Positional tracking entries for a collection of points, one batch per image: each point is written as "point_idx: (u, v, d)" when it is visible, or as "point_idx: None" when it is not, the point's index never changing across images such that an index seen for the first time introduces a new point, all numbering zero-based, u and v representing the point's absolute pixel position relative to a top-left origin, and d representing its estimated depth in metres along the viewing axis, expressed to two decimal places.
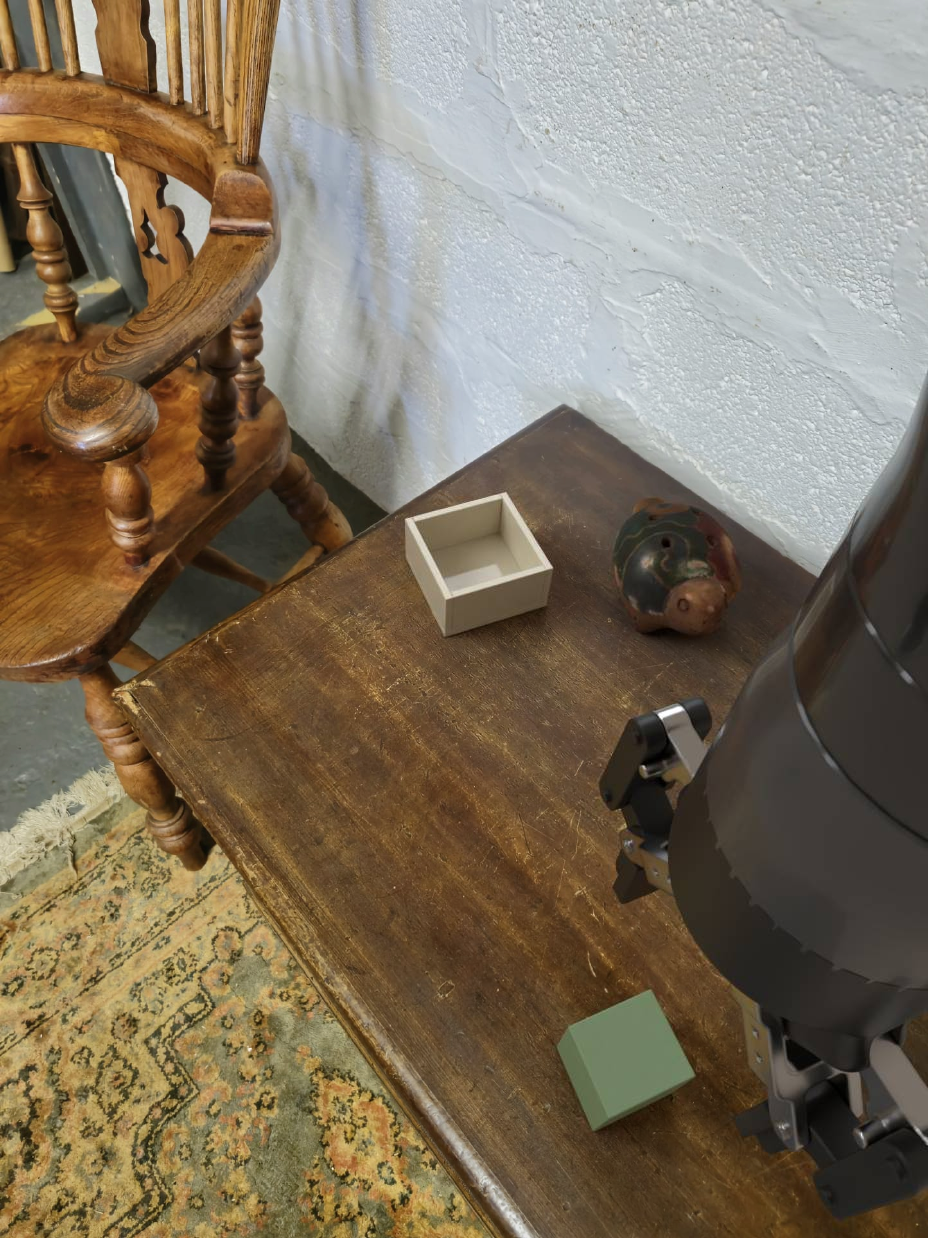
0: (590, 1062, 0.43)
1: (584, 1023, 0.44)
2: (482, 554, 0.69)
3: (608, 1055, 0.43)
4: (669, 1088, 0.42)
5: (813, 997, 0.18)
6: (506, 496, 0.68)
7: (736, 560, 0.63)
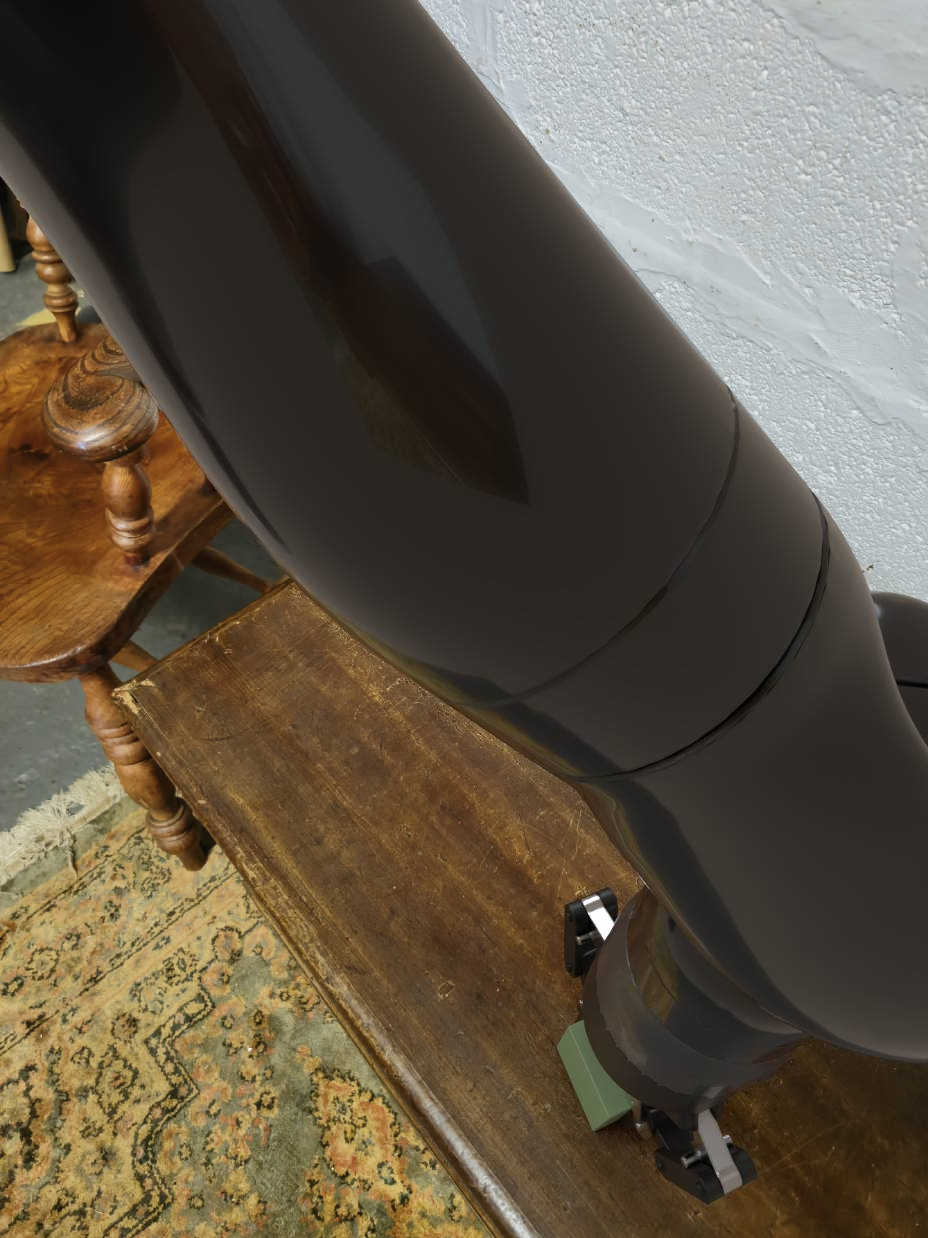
0: (590, 1062, 0.43)
1: None
2: None
3: None
4: None
5: (653, 1095, 0.33)
6: None
7: None
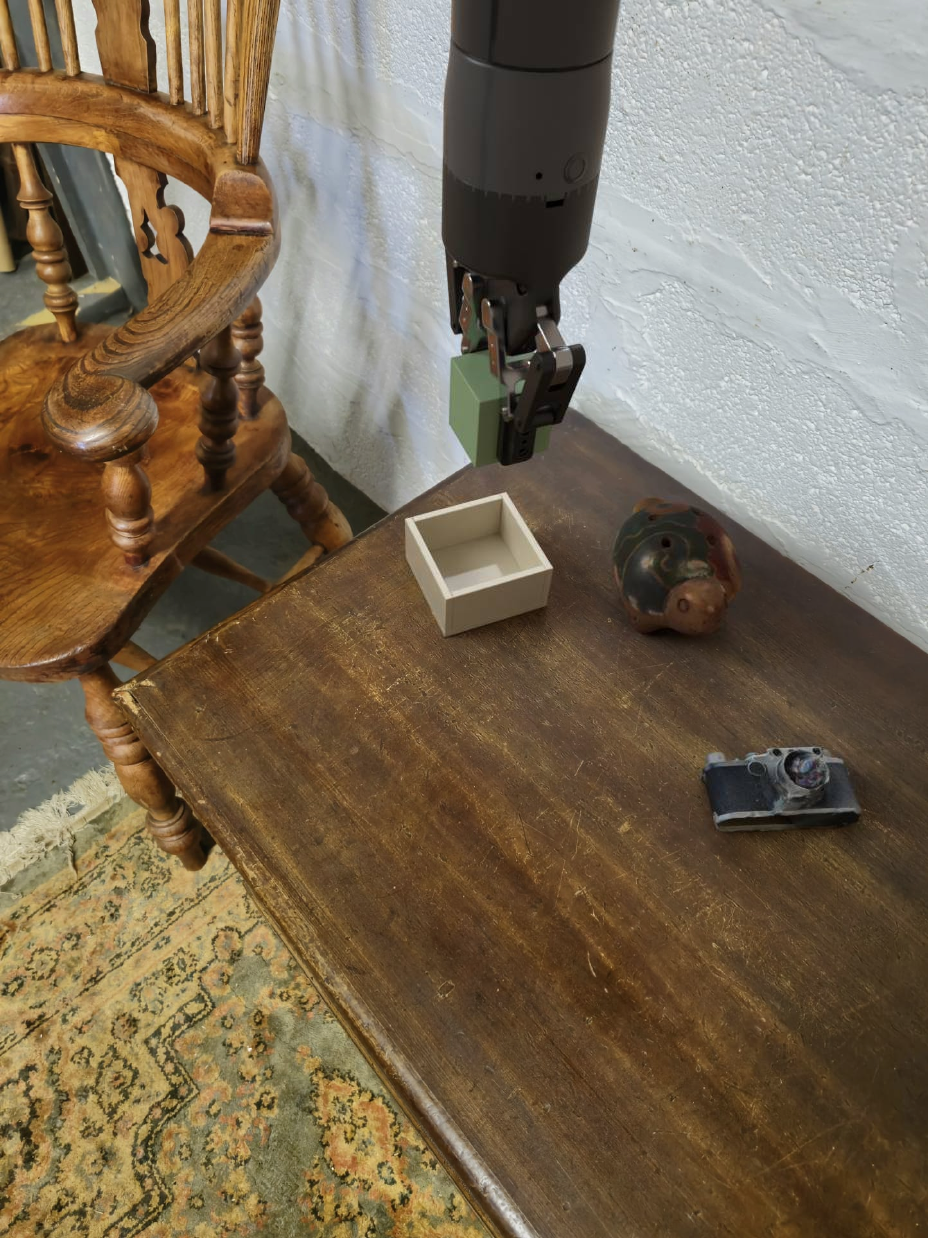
0: (466, 374, 0.49)
1: (464, 355, 0.50)
2: (482, 554, 0.69)
3: (483, 372, 0.49)
4: None
5: (488, 234, 0.39)
6: (506, 496, 0.68)
7: (736, 560, 0.63)
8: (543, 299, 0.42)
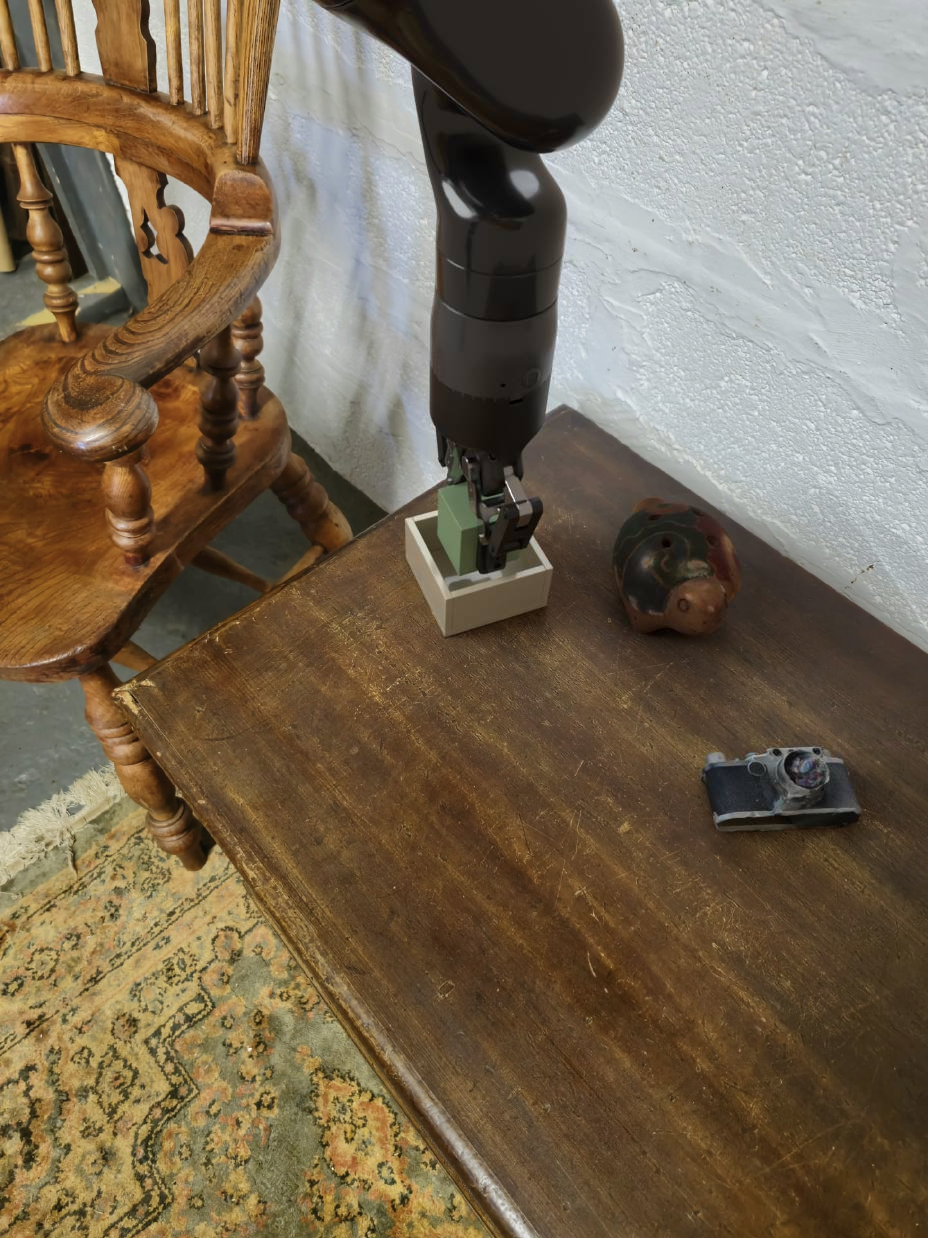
0: (451, 505, 0.61)
1: (449, 487, 0.62)
2: None
3: (464, 502, 0.61)
4: None
5: (465, 421, 0.51)
6: None
7: (736, 560, 0.63)
8: (509, 462, 0.54)
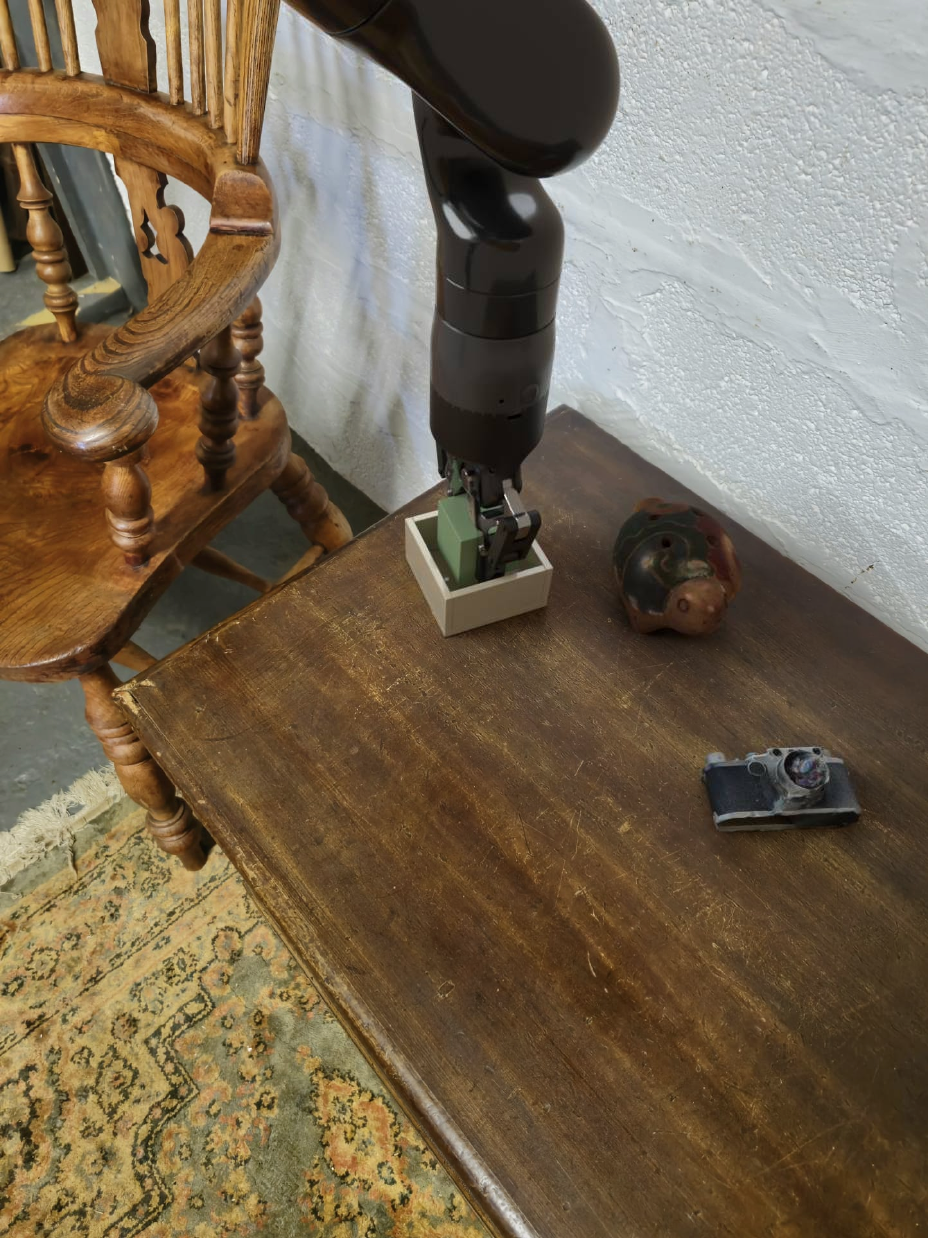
0: (451, 516, 0.62)
1: (449, 498, 0.63)
2: None
3: (464, 513, 0.62)
4: None
5: (464, 435, 0.52)
6: None
7: (736, 560, 0.63)
8: (508, 476, 0.55)
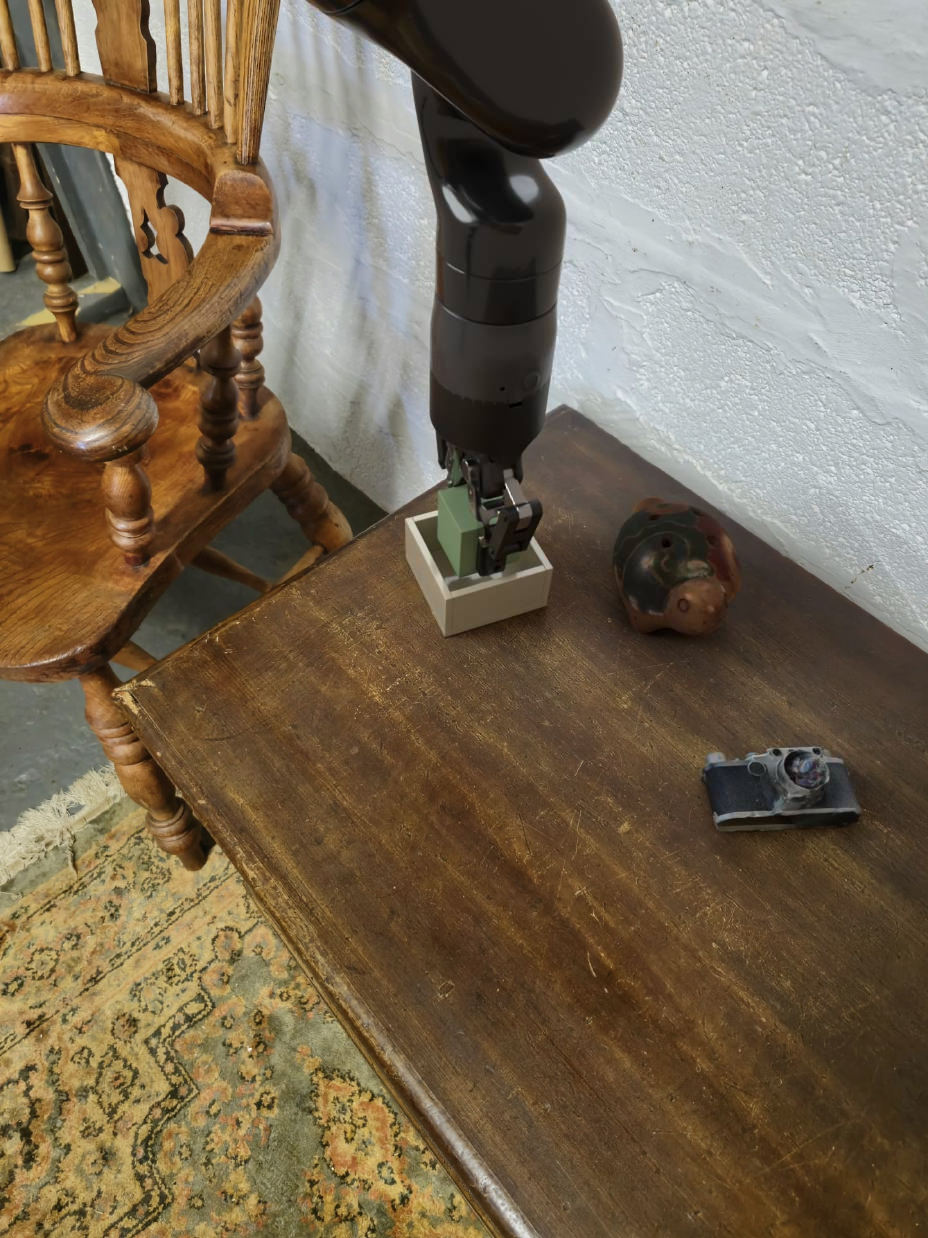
0: (451, 507, 0.61)
1: (449, 489, 0.62)
2: None
3: (464, 504, 0.61)
4: None
5: (465, 424, 0.51)
6: None
7: (736, 560, 0.63)
8: (509, 465, 0.54)
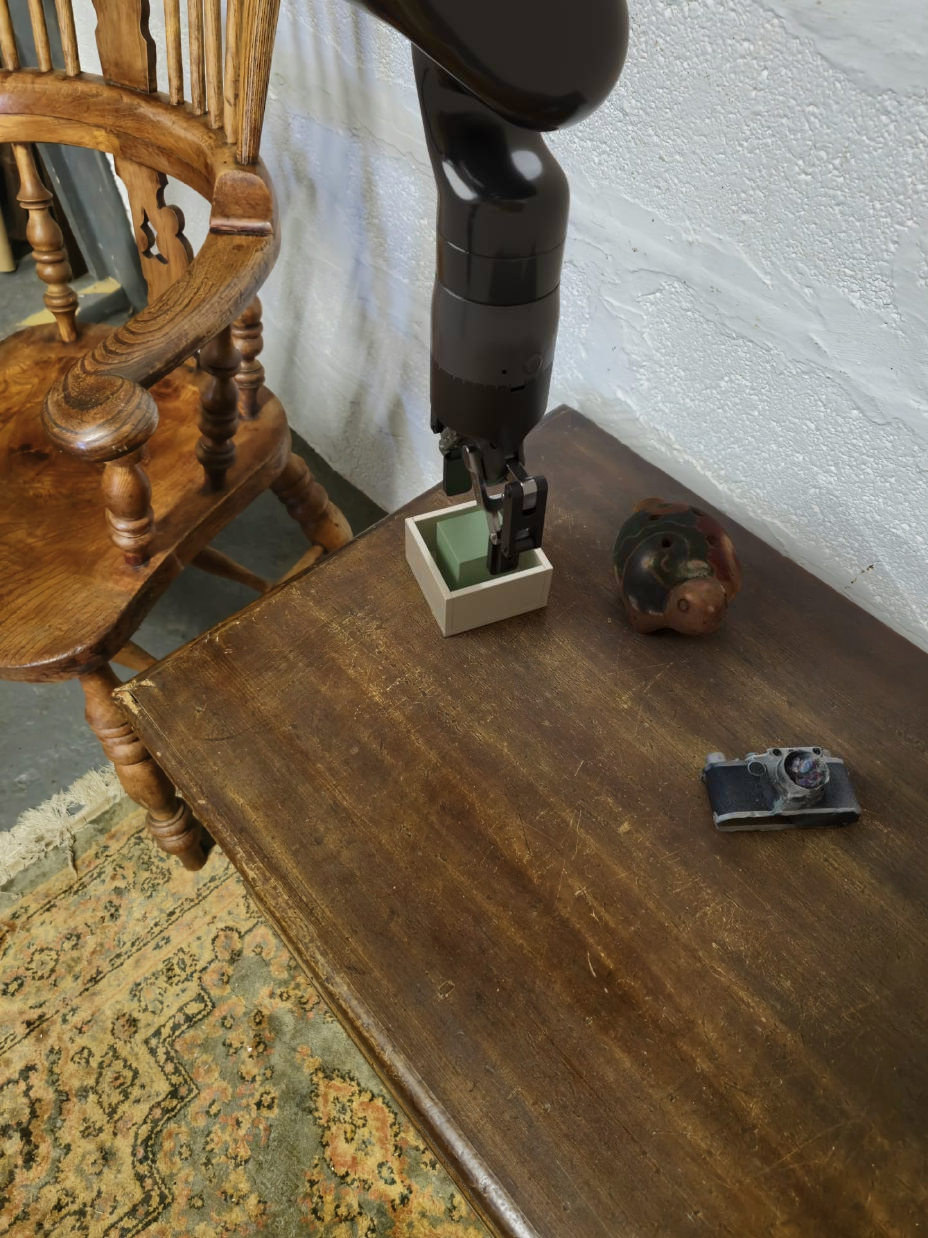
0: (449, 538, 0.63)
1: (448, 520, 0.65)
2: None
3: (462, 535, 0.64)
4: None
5: (466, 408, 0.50)
6: None
7: (736, 560, 0.63)
8: (511, 451, 0.53)
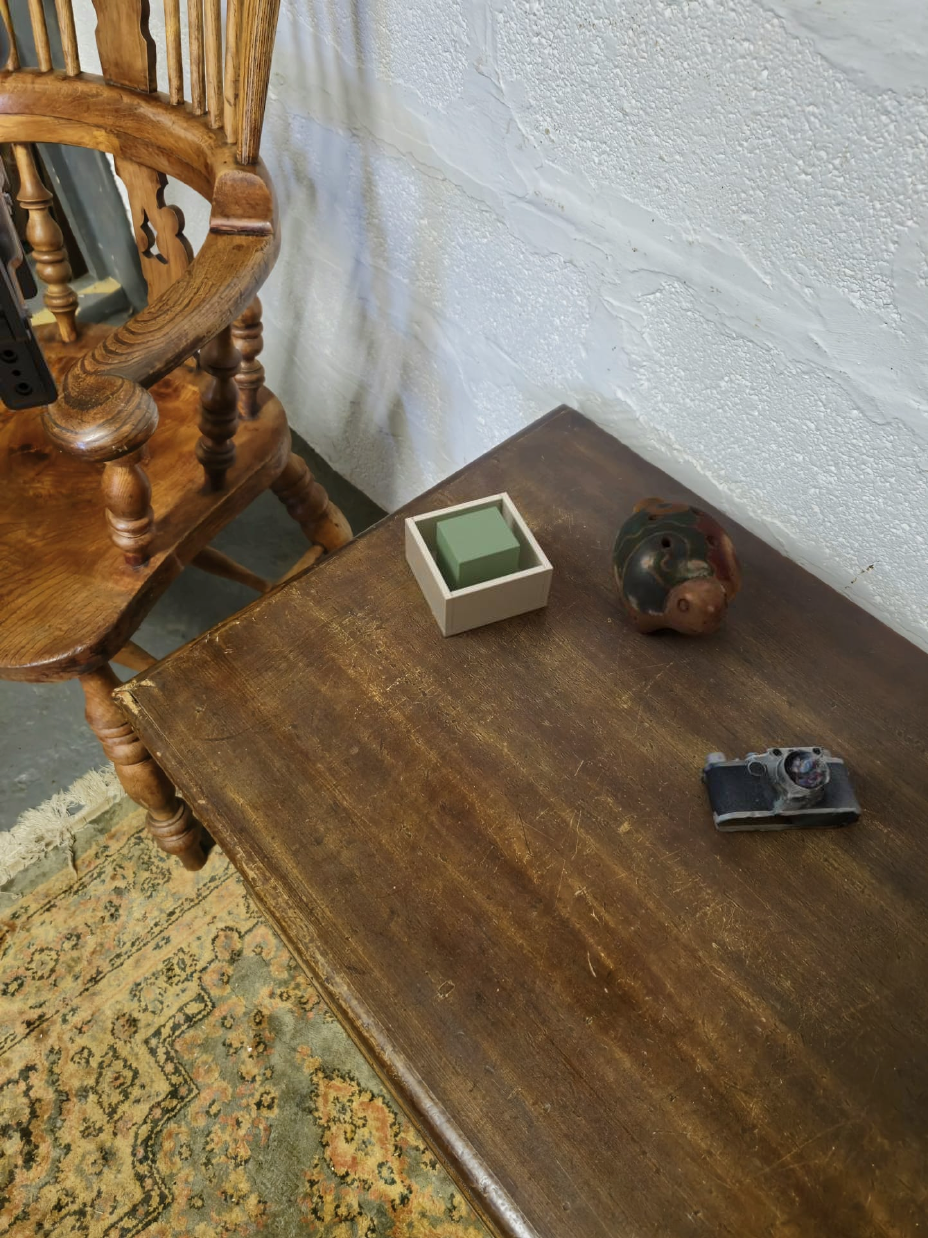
0: (449, 538, 0.63)
1: (448, 520, 0.65)
2: None
3: (462, 535, 0.64)
4: (501, 551, 0.63)
5: None
6: (506, 496, 0.68)
7: (736, 560, 0.63)
8: None
